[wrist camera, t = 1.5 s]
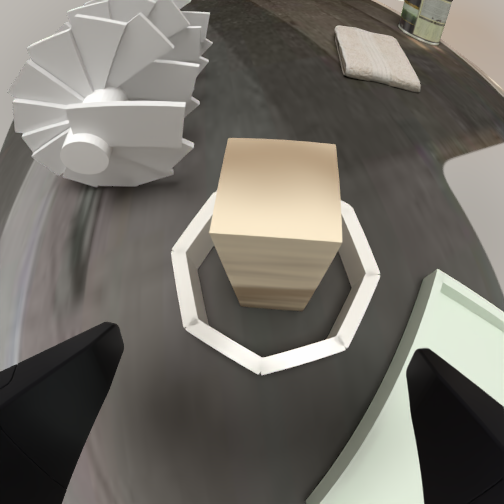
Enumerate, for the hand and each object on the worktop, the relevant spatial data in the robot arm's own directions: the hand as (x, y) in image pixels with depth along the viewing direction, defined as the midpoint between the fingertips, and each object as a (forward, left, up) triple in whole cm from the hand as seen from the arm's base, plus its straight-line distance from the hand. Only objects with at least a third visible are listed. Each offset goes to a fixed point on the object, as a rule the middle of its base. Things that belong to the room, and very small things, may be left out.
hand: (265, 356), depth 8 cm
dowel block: (+6, +3, -12) cm, 14 cm away
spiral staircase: (+15, +25, -13) cm, 31 cm away
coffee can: (+71, 0, -13) cm, 72 cm away
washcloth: (+45, +6, -13) cm, 47 cm away
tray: (+2, -16, -12) cm, 21 cm away
